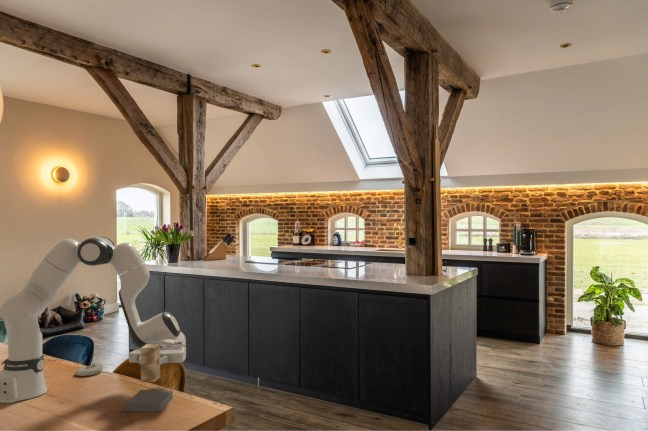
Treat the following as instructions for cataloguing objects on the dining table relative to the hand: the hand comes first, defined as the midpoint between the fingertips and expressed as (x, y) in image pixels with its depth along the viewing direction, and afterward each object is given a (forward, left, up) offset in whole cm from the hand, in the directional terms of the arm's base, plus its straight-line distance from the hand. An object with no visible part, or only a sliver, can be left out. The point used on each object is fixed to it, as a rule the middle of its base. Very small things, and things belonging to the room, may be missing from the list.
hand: (149, 362), depth 167 cm
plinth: (0, +1, -16) cm, 16 cm away
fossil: (-40, +35, -16) cm, 56 cm away
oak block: (0, +1, -6) cm, 7 cm away
